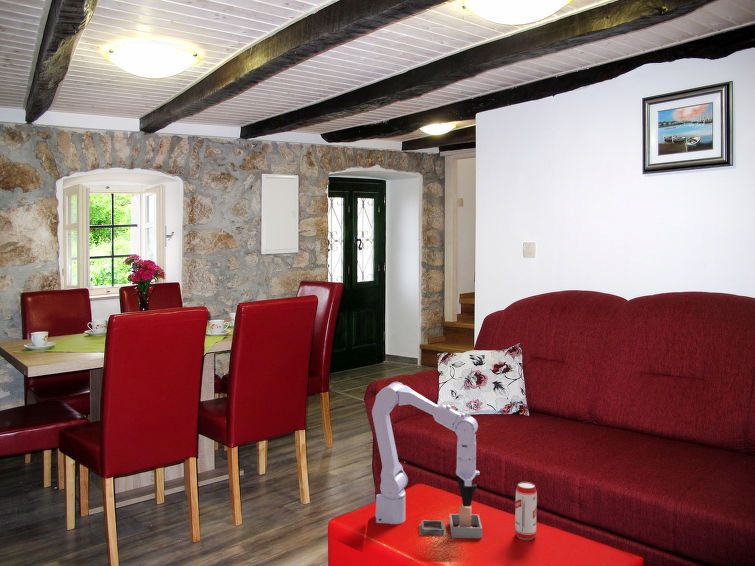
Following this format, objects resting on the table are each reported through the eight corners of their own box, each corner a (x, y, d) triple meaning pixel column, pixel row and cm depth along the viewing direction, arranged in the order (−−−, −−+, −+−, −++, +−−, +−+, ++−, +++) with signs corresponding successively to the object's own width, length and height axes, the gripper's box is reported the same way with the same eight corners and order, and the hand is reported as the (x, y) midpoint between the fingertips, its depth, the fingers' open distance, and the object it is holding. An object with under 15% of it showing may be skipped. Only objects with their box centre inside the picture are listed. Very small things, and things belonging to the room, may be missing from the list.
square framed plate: (419, 538, 201) (419, 530, 200) (419, 526, 209) (419, 519, 208) (446, 539, 200) (446, 530, 200) (444, 527, 208) (445, 519, 208)
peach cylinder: (473, 535, 202) (473, 509, 201) (458, 535, 202) (458, 509, 201) (471, 529, 206) (472, 503, 205) (457, 528, 206) (457, 503, 206)
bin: (451, 540, 199) (451, 527, 199) (449, 526, 209) (449, 513, 209) (482, 541, 199) (482, 528, 198) (478, 527, 209) (478, 514, 208)
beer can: (534, 532, 205) (535, 481, 204) (537, 541, 199) (538, 489, 198) (513, 531, 206) (514, 480, 204) (516, 540, 199) (517, 488, 198)
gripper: (482, 465, 195) (481, 511, 196) (477, 450, 209) (476, 492, 210) (458, 465, 195) (457, 510, 196) (454, 449, 210) (454, 491, 211)
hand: (465, 501), depth 203 cm, fingers open, 7 cm apart
